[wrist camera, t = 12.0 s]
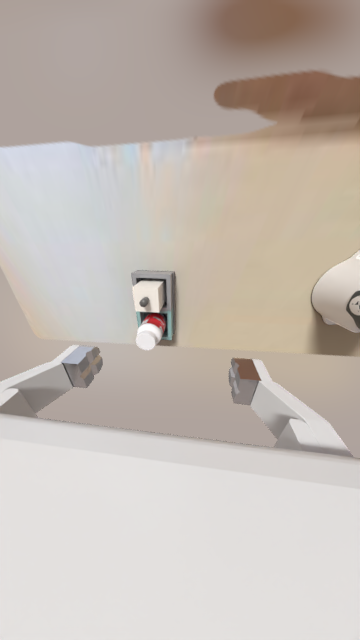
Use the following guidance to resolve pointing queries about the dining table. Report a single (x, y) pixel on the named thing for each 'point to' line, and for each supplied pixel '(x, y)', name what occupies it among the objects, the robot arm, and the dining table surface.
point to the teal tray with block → (155, 297)
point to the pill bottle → (151, 331)
